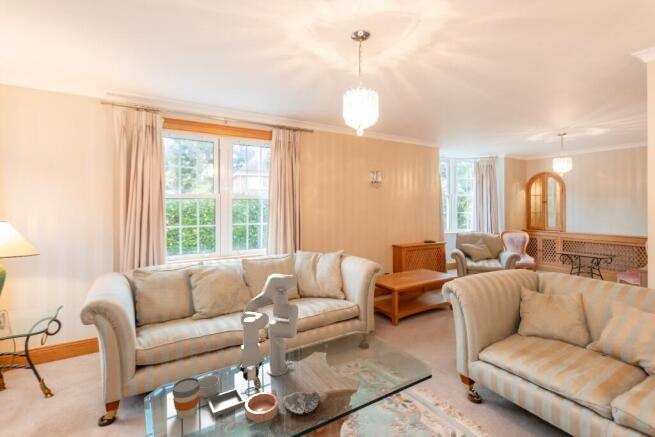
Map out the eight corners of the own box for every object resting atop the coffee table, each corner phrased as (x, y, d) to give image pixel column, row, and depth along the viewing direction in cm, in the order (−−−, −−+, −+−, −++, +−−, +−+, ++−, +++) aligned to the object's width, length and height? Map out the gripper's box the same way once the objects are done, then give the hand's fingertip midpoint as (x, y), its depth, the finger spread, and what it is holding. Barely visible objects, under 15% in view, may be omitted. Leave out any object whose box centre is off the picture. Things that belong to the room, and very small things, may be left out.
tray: (237, 393, 176) (237, 388, 176) (245, 406, 165) (245, 401, 165) (206, 403, 167) (206, 398, 167) (213, 418, 156) (213, 412, 156)
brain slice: (285, 421, 155) (285, 415, 155) (281, 399, 172) (281, 394, 171) (324, 414, 160) (324, 409, 160) (316, 393, 177) (316, 388, 177)
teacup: (220, 398, 171) (219, 384, 171) (198, 403, 167) (197, 388, 167) (218, 383, 184) (218, 370, 183) (198, 387, 180) (198, 374, 179)
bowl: (270, 396, 173) (270, 388, 173) (283, 414, 160) (283, 405, 160) (241, 407, 164) (241, 399, 164) (252, 427, 151) (252, 418, 151)
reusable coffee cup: (195, 401, 169) (195, 374, 167) (204, 414, 159) (203, 385, 158) (170, 411, 161) (169, 383, 159) (177, 426, 151) (176, 396, 150)
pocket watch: (243, 395, 174) (242, 377, 173) (250, 386, 182) (250, 369, 182) (256, 397, 172) (256, 380, 171) (263, 388, 180) (263, 371, 180)
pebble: (254, 373, 165) (254, 364, 165) (257, 378, 161) (257, 369, 160) (244, 376, 163) (244, 367, 162) (247, 381, 158) (247, 372, 158)
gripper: (264, 336, 168) (264, 369, 169) (231, 343, 159) (232, 378, 160) (269, 341, 161) (269, 376, 163) (235, 350, 152) (236, 386, 154)
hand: (251, 377), depth 162 cm, fingers closed on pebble, 4 cm apart
